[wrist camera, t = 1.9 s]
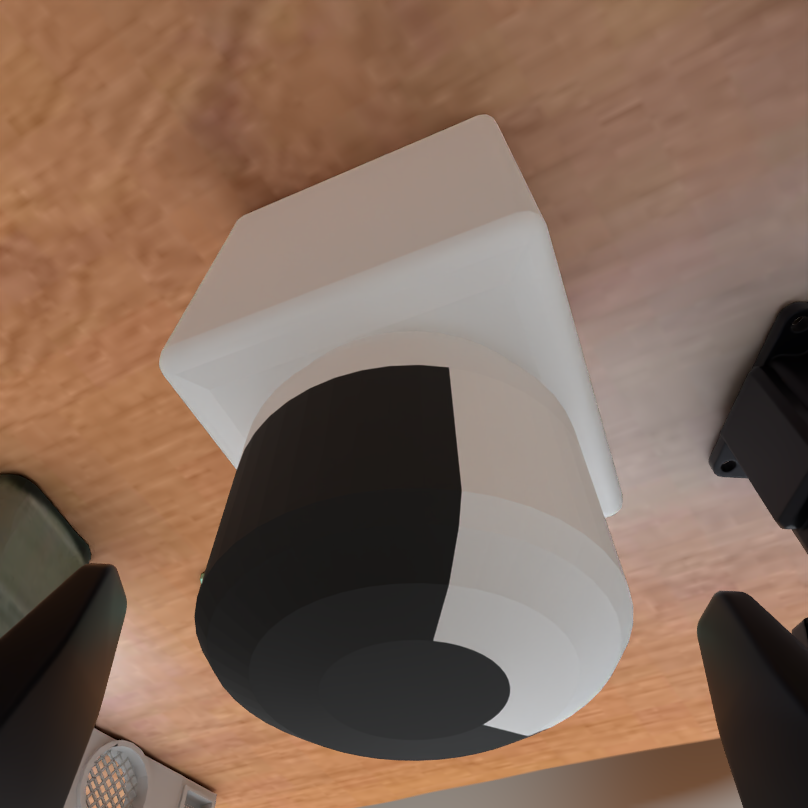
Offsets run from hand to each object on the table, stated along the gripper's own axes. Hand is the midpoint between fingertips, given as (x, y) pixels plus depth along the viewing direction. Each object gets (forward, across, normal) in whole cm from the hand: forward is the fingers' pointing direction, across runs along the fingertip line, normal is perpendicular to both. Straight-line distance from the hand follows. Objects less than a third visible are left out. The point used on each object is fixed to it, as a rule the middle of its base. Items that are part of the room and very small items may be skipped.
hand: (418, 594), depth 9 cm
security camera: (+11, 0, 0) cm, 11 cm away
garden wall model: (+11, +13, +30) cm, 34 cm away
